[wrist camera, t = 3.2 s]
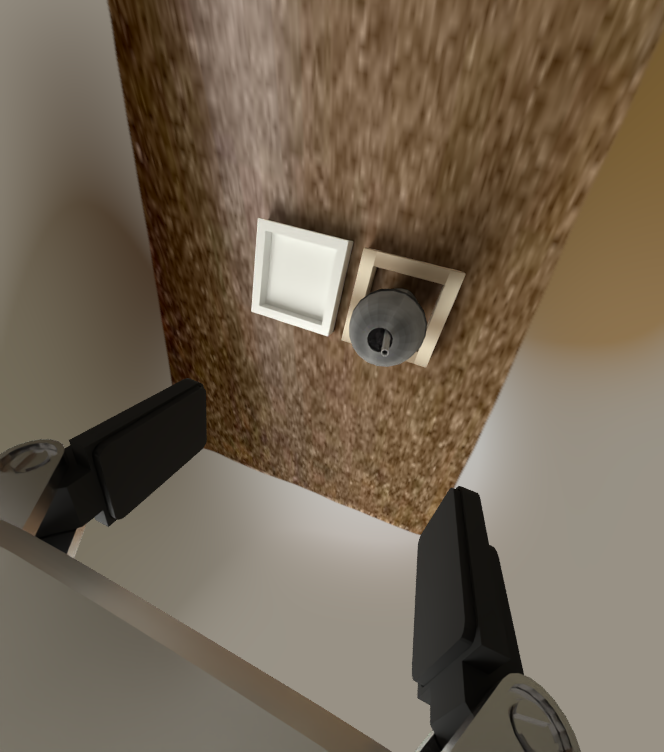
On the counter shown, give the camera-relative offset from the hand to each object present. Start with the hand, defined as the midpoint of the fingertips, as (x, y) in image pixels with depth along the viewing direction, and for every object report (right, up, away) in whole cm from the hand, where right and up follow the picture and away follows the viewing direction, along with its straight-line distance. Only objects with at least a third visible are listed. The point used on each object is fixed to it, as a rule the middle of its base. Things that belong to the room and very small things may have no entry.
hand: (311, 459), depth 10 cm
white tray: (-3, +17, +29) cm, 33 cm away
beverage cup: (+10, +12, +26) cm, 31 cm away
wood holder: (+10, +12, +26) cm, 30 cm away
